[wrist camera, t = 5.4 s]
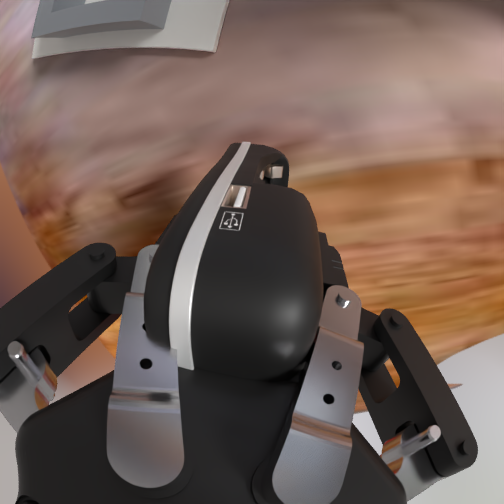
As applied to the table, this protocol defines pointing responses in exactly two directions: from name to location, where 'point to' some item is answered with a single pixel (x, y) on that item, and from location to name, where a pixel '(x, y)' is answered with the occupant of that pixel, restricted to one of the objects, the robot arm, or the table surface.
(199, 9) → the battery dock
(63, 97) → the table surface
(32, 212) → the table surface
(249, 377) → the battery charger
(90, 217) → the table surface
